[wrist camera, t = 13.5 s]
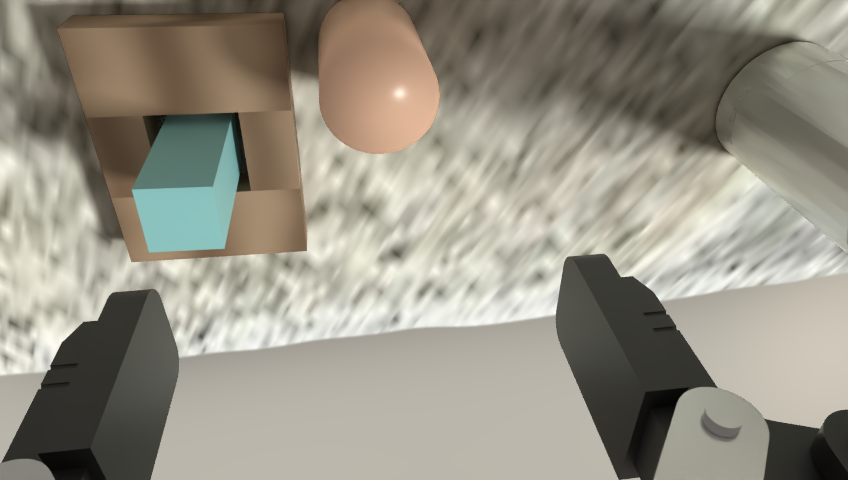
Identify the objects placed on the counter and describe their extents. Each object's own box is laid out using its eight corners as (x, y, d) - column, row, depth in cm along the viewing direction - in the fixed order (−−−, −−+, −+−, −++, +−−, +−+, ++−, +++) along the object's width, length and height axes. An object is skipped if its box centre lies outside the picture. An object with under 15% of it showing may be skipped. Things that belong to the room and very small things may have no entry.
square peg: (233, 108, 40) (213, 186, 32) (242, 163, 42) (224, 248, 34) (169, 110, 39) (131, 189, 31) (181, 165, 42) (149, 252, 34)
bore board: (283, 12, 37) (282, 24, 35) (307, 231, 46) (306, 250, 44) (71, 15, 35) (57, 28, 33) (139, 241, 44) (131, 262, 42)
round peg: (417, -9, 37) (442, 37, 30) (415, 89, 41) (437, 151, 34) (314, -7, 36) (314, 40, 29) (322, 92, 40) (323, 156, 33)
